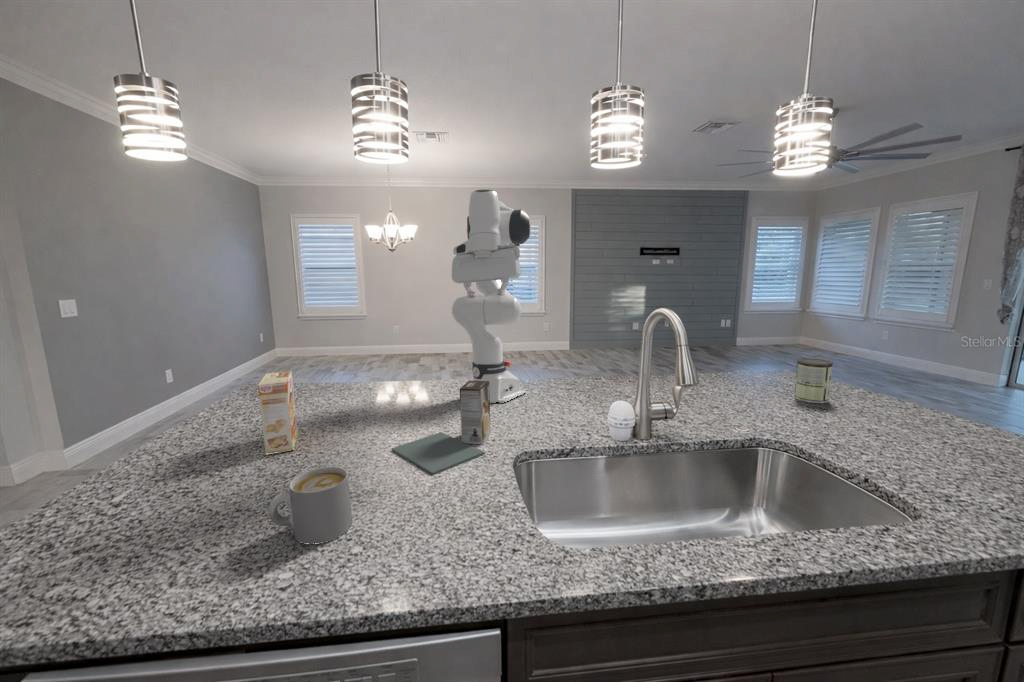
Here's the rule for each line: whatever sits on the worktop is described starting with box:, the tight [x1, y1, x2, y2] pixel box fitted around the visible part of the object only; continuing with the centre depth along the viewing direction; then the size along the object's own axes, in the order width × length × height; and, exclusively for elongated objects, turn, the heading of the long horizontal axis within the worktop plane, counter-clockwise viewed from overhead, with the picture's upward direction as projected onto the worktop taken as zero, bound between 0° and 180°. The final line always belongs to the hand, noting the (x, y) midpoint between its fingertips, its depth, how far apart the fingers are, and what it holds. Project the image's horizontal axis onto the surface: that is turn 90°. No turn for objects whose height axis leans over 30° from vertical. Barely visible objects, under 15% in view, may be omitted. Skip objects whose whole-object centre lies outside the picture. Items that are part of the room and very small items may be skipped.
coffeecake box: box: [257, 370, 298, 454], centre depth 117 cm, size 15×7×20 cm, turn 23°
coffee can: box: [793, 357, 834, 404], centre depth 149 cm, size 10×10×14 cm
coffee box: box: [459, 380, 492, 445], centre depth 119 cm, size 9×6×16 cm
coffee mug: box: [268, 466, 353, 544], centre depth 77 cm, size 13×10×10 cm
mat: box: [391, 431, 485, 476], centre depth 111 cm, size 16×20×1 cm
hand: (485, 296), depth 116 cm, fingers open, 8 cm apart
